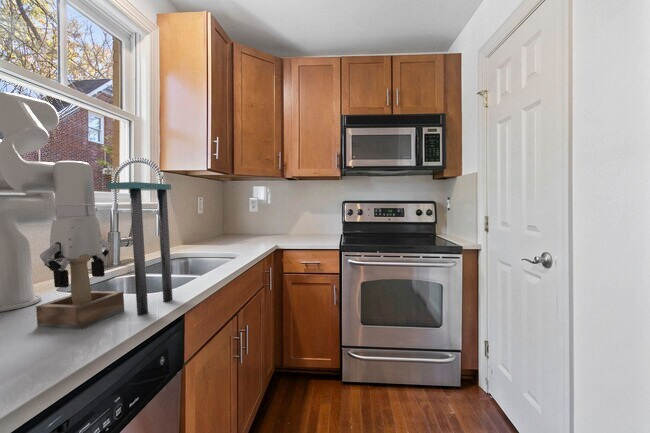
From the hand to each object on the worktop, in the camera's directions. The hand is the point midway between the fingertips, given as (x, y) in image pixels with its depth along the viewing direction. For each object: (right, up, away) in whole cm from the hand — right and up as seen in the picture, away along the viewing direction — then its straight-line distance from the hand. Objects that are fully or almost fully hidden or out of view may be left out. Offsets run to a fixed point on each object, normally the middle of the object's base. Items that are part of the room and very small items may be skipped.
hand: (81, 281), depth 76 cm
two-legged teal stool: (+12, -9, +8) cm, 17 cm away
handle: (0, -8, +1) cm, 8 cm away
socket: (0, -9, +1) cm, 9 cm away
